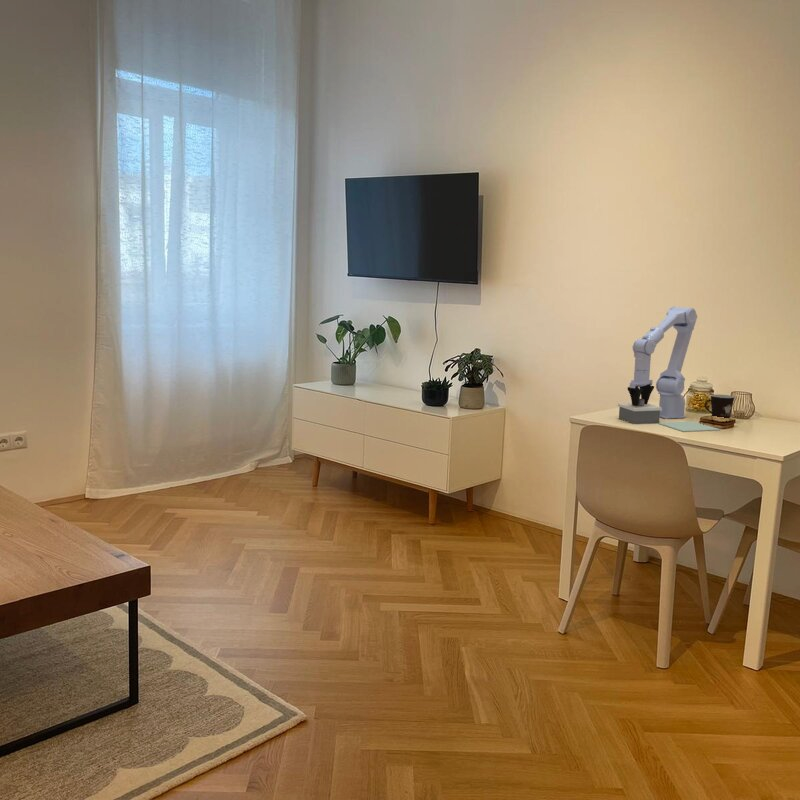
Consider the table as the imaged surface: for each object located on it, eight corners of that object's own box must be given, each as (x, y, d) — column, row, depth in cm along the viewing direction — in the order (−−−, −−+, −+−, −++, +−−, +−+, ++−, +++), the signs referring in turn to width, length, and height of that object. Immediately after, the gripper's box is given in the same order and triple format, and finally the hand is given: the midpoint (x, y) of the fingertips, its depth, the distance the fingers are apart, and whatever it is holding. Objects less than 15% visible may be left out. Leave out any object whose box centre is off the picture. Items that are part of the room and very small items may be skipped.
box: (643, 417, 333) (644, 405, 332) (659, 423, 322) (660, 410, 321) (618, 418, 330) (619, 406, 329) (634, 423, 319) (634, 411, 318)
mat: (693, 422, 325) (694, 421, 325) (720, 430, 310) (720, 429, 310) (658, 423, 320) (658, 422, 320) (683, 431, 305) (683, 430, 305)
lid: (644, 405, 332) (645, 396, 332) (661, 410, 321) (662, 401, 321) (617, 406, 329) (618, 397, 329) (634, 411, 318) (635, 402, 317)
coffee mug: (728, 419, 333) (730, 394, 331) (735, 423, 324) (737, 398, 322) (698, 418, 334) (700, 393, 332) (704, 422, 325) (706, 397, 324)
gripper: (641, 367, 331) (639, 401, 333) (623, 370, 320) (621, 405, 322) (658, 369, 326) (655, 403, 328) (640, 372, 315) (637, 407, 318)
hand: (639, 404), depth 325 cm, fingers open, 7 cm apart
